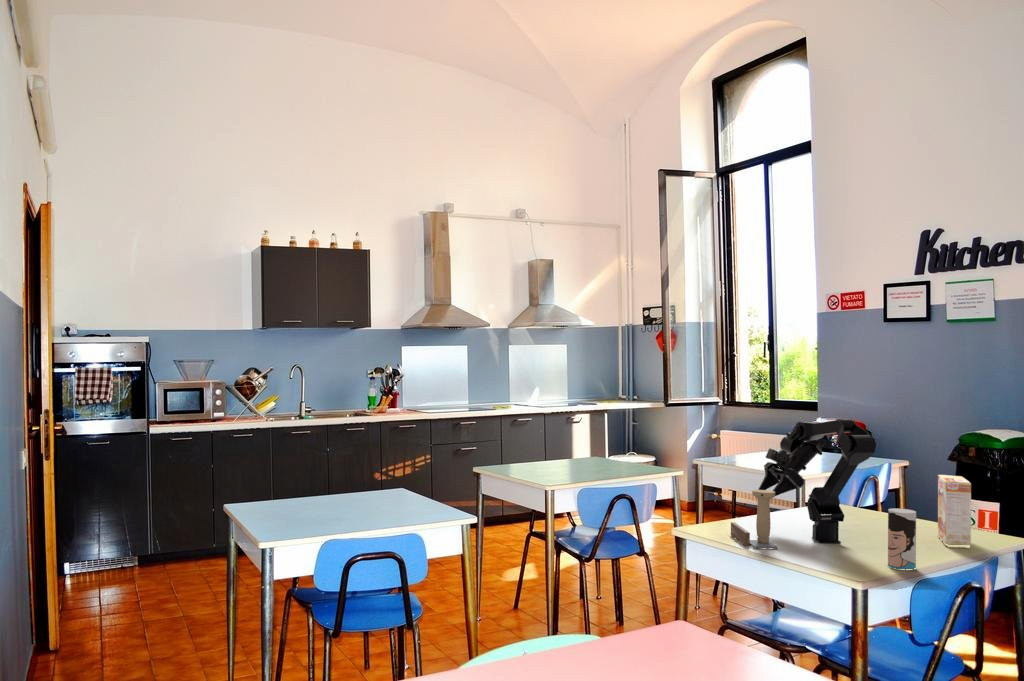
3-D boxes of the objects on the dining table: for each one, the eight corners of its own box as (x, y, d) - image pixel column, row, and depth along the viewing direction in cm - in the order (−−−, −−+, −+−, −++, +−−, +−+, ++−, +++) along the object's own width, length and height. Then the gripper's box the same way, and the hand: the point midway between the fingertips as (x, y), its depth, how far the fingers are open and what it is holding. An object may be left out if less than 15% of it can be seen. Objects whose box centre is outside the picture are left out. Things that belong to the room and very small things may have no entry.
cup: (888, 563, 223) (888, 507, 223) (915, 566, 220) (916, 510, 220) (887, 568, 217) (887, 511, 217) (915, 572, 214) (916, 514, 214)
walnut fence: (734, 535, 255) (734, 522, 255) (749, 546, 240) (749, 532, 240) (730, 535, 255) (730, 522, 255) (745, 546, 240) (745, 532, 240)
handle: (772, 545, 238) (773, 493, 238) (750, 542, 241) (750, 491, 241) (776, 542, 242) (776, 491, 243) (753, 539, 245) (754, 489, 246)
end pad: (768, 542, 245) (768, 540, 245) (777, 549, 237) (777, 546, 237) (745, 542, 245) (745, 539, 245) (754, 549, 237) (754, 546, 237)
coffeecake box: (936, 536, 257) (937, 474, 258) (962, 538, 255) (962, 475, 255) (944, 547, 243) (944, 481, 244) (971, 549, 241) (972, 482, 241)
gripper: (770, 437, 268) (736, 470, 267) (795, 443, 250) (759, 479, 248) (793, 461, 269) (760, 495, 268) (819, 469, 250) (784, 505, 249)
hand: (765, 493), depth 258 cm, fingers open, 9 cm apart
